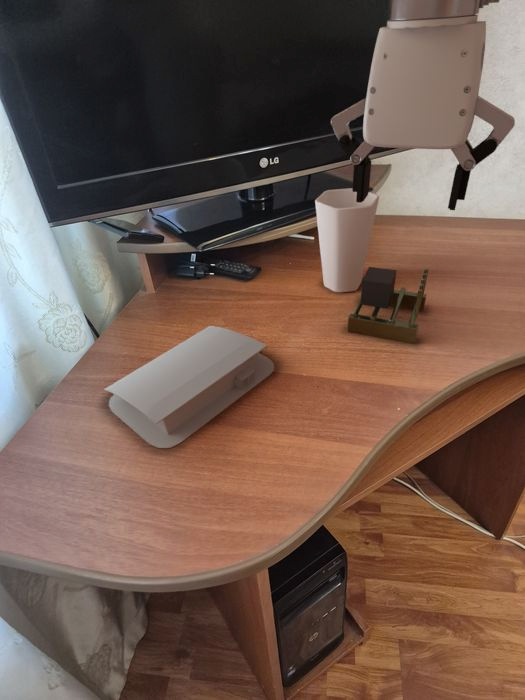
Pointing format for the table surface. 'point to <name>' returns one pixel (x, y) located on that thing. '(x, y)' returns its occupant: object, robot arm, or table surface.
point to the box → (378, 287)
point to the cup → (344, 236)
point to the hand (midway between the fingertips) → (405, 202)
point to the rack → (392, 316)
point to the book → (189, 385)
